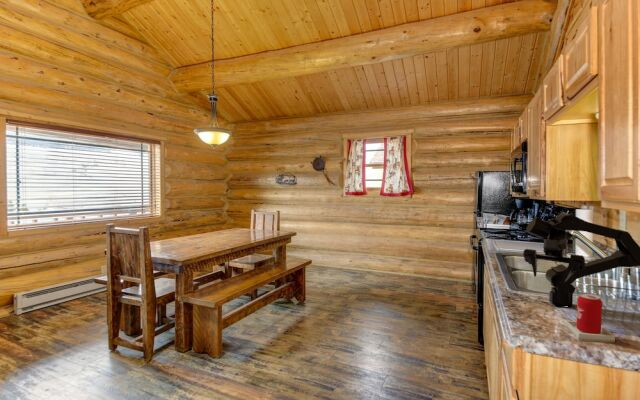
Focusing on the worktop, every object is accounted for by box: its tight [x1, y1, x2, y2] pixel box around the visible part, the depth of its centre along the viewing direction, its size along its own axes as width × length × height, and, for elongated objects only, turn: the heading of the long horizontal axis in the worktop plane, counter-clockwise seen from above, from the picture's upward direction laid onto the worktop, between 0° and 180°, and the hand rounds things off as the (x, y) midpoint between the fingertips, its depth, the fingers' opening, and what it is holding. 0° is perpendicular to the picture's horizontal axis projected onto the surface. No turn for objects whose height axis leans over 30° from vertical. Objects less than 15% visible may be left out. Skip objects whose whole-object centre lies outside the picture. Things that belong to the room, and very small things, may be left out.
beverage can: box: [576, 292, 603, 334], centre depth 111 cm, size 6×6×12 cm
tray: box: [564, 320, 616, 344], centre depth 111 cm, size 10×10×2 cm
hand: (549, 278), depth 125 cm, fingers open, 9 cm apart
